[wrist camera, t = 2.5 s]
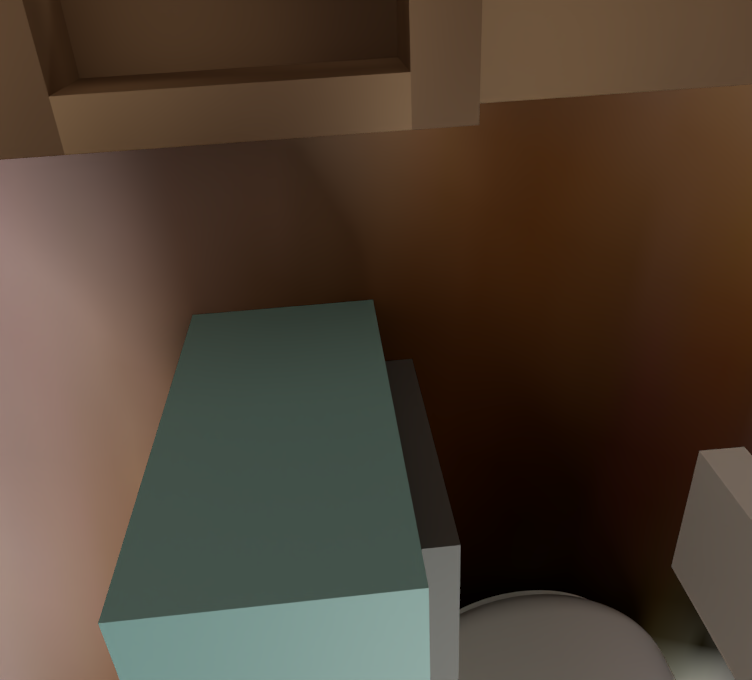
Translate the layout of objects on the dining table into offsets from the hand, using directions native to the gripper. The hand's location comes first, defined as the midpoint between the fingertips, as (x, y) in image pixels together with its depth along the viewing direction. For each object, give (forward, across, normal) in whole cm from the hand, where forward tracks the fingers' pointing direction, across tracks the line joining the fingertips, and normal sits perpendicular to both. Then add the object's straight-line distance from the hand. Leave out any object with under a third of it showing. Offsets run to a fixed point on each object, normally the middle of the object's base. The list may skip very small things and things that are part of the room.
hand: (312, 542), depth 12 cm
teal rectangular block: (+5, 0, 0) cm, 5 cm away
